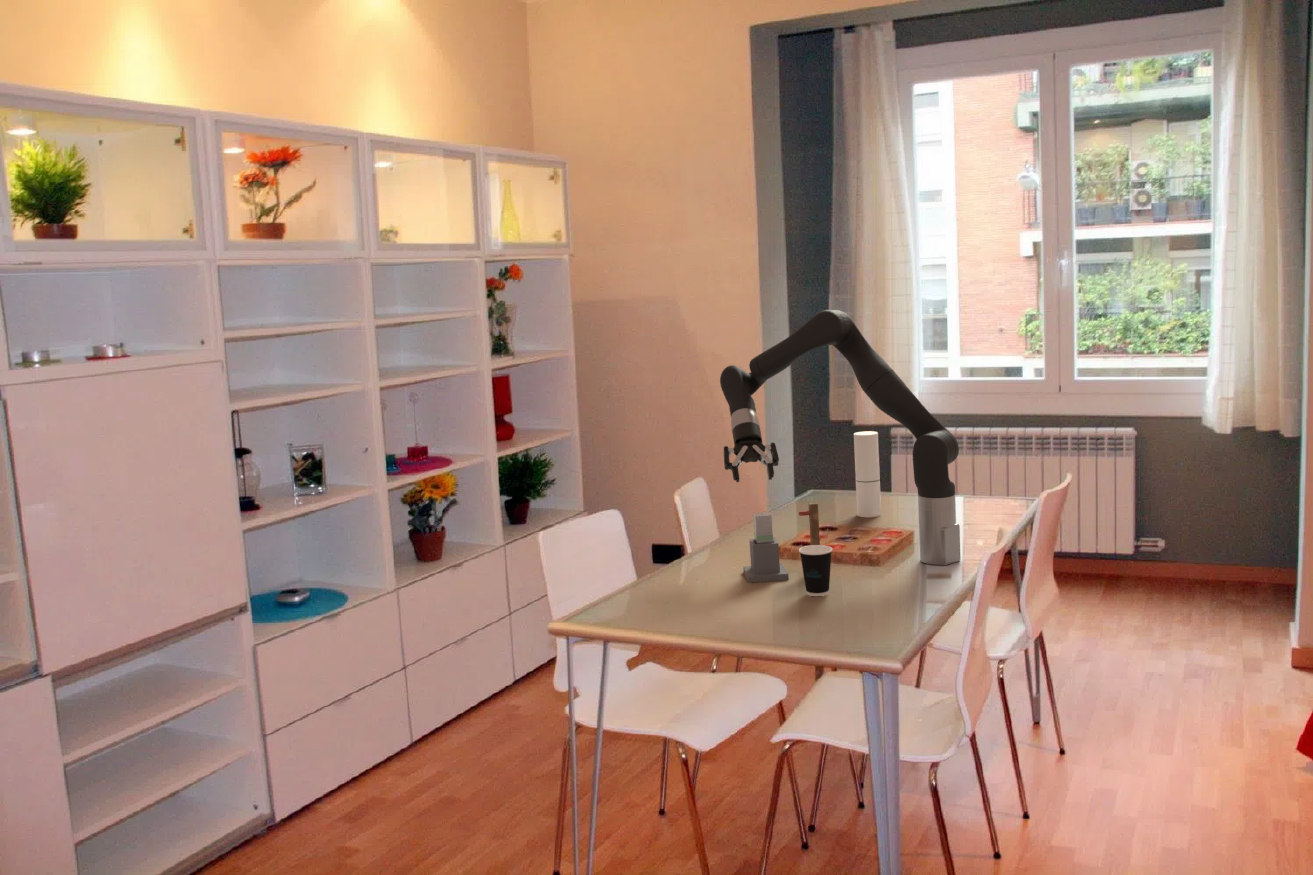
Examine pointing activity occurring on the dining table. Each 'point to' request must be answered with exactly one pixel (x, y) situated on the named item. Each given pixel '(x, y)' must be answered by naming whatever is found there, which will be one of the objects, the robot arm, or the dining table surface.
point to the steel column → (763, 528)
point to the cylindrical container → (867, 474)
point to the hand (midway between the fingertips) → (754, 479)
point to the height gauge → (813, 522)
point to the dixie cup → (816, 568)
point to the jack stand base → (765, 563)
